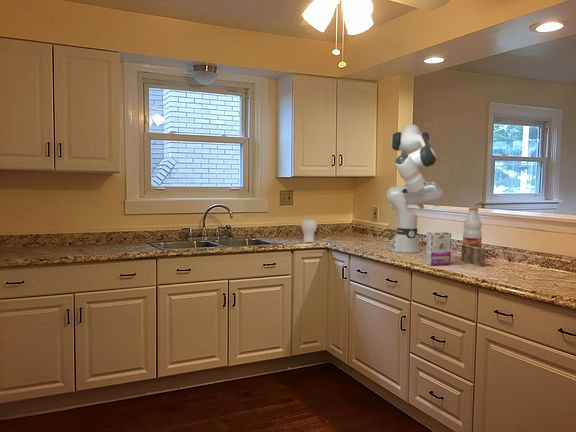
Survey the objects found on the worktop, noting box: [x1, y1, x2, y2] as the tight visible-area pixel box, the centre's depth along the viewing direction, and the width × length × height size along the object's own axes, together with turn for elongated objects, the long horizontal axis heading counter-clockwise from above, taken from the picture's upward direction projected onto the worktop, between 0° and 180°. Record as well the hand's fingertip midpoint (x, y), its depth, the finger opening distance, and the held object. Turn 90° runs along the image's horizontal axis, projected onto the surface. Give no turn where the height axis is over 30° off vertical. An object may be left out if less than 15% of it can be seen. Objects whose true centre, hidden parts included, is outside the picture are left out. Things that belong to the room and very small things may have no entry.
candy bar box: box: [426, 231, 452, 267], centre depth 244 cm, size 11×5×16 cm, turn 106°
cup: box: [300, 219, 318, 243], centre depth 331 cm, size 11×11×15 cm
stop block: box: [460, 243, 486, 268], centre depth 250 cm, size 18×2×9 cm, turn 13°
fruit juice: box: [462, 207, 483, 248], centre depth 264 cm, size 9×9×28 cm
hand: (430, 207), depth 242 cm, fingers open, 8 cm apart
